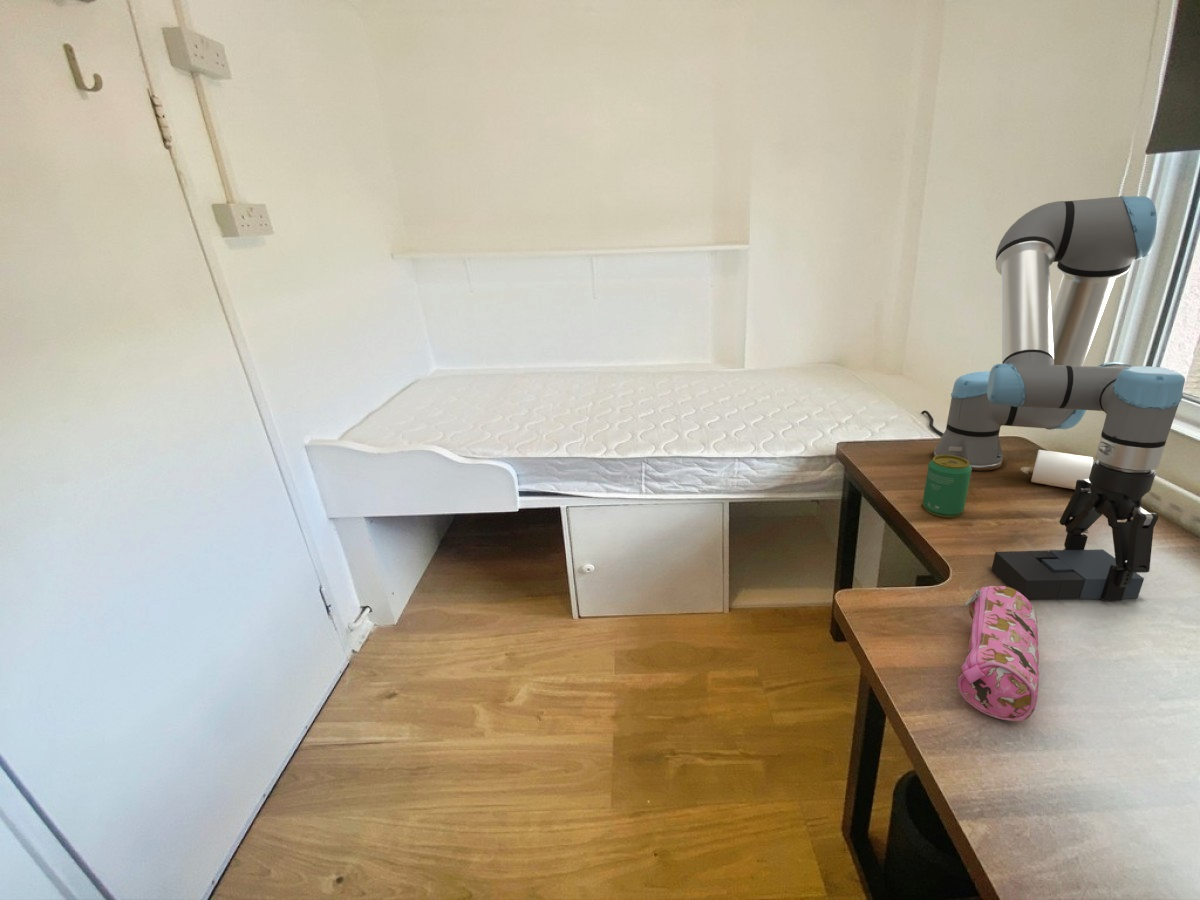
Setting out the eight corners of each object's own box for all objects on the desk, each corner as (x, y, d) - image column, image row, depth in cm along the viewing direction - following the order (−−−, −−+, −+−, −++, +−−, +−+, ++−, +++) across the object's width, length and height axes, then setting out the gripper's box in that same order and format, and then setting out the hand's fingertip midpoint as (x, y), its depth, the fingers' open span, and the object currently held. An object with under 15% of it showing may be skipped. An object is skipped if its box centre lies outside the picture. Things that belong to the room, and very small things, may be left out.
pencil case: (960, 619, 91) (970, 574, 88) (1030, 638, 86) (1043, 591, 82) (949, 710, 75) (960, 658, 71) (1035, 740, 70) (1051, 686, 66)
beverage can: (971, 513, 121) (981, 463, 117) (944, 521, 119) (953, 471, 115) (940, 498, 129) (948, 451, 124) (913, 506, 126) (921, 458, 122)
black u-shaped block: (991, 569, 102) (995, 551, 101) (1042, 569, 102) (1047, 550, 100) (1021, 600, 94) (1026, 580, 93) (1078, 599, 93) (1084, 579, 92)
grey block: (1026, 568, 102) (1031, 550, 100) (1097, 568, 101) (1102, 549, 99) (1060, 599, 93) (1066, 579, 92) (1137, 598, 92) (1144, 578, 91)
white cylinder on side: (1084, 496, 125) (1093, 464, 122) (1029, 486, 131) (1036, 455, 128) (1085, 477, 133) (1094, 447, 130) (1034, 469, 139) (1041, 439, 136)
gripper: (1053, 441, 99) (1026, 549, 107) (1157, 495, 79) (1115, 623, 87) (1098, 439, 98) (1068, 548, 106) (1215, 493, 78) (1166, 622, 86)
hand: (1089, 581), depth 97 cm, fingers closed on grey block, 9 cm apart
